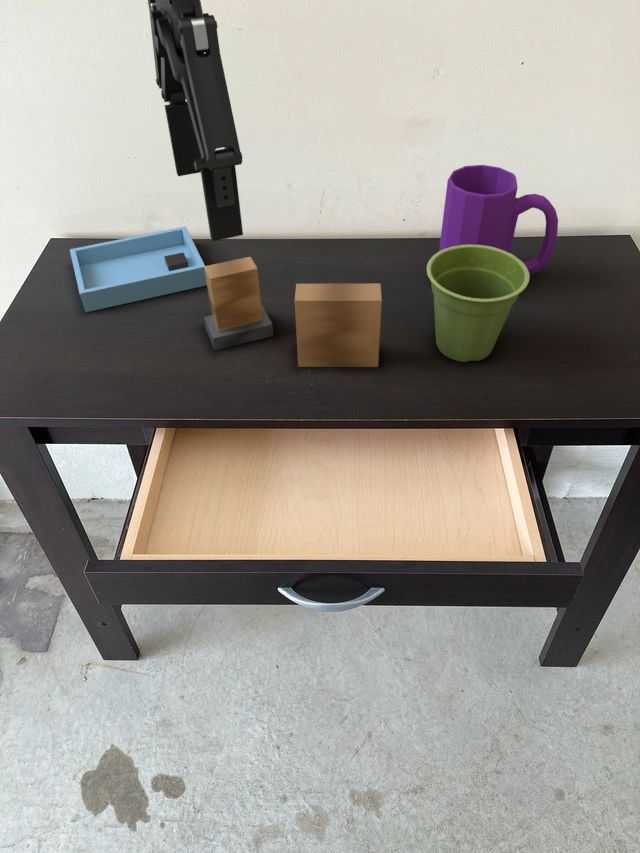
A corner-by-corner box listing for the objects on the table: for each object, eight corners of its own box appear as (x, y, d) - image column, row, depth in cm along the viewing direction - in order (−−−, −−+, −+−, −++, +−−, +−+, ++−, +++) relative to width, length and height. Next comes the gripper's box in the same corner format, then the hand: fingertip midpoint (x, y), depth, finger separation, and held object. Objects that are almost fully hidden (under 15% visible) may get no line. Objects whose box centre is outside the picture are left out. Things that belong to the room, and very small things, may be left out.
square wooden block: (298, 367, 83) (294, 300, 75) (299, 349, 85) (296, 283, 78) (378, 367, 82) (381, 300, 75) (377, 349, 85) (380, 283, 78)
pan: (85, 312, 92) (79, 293, 90) (75, 267, 100) (69, 249, 98) (208, 285, 96) (205, 266, 94) (188, 244, 104) (185, 226, 102)
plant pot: (411, 368, 82) (419, 291, 74) (426, 313, 90) (434, 239, 82) (508, 383, 80) (527, 306, 72) (514, 325, 88) (531, 250, 80)
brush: (215, 350, 85) (203, 284, 78) (205, 328, 89) (194, 263, 81) (273, 336, 87) (268, 270, 80) (262, 315, 90) (255, 250, 83)
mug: (436, 260, 99) (447, 162, 89) (541, 266, 98) (566, 167, 87) (435, 295, 93) (448, 194, 82) (548, 301, 91) (576, 199, 81)
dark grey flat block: (169, 271, 98) (168, 266, 97) (165, 261, 100) (163, 256, 99) (189, 267, 98) (187, 261, 98) (184, 257, 100) (183, 252, 100)
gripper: (270, -58, 39) (289, 259, 54) (178, -109, 55) (212, 144, 71) (143, -45, 37) (200, 278, 52) (88, -102, 54) (143, 156, 69)
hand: (207, 202), depth 61 cm, fingers open, 13 cm apart
